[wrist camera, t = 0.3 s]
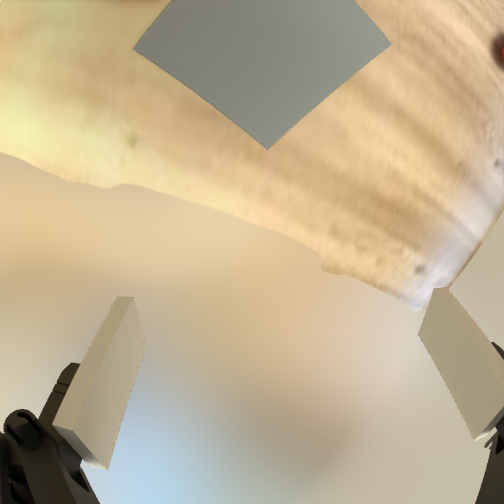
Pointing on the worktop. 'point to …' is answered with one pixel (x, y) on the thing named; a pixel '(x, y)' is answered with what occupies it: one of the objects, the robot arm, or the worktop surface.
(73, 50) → the worktop surface
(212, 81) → the mat
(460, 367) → the robot arm
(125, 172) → the worktop surface
